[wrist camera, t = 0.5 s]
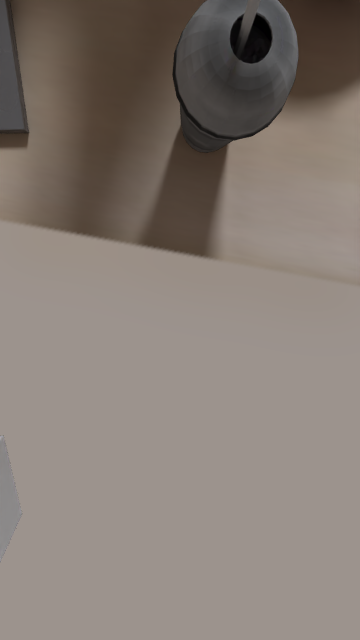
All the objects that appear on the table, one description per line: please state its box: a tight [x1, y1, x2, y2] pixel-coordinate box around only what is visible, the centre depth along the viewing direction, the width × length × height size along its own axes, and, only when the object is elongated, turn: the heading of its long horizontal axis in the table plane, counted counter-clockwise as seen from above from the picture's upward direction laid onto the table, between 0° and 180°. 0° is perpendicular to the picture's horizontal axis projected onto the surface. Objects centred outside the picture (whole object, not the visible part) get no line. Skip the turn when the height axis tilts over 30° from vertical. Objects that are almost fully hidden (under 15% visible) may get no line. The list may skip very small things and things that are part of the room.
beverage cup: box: [173, 0, 298, 152], centre depth 22 cm, size 7×7×20 cm
